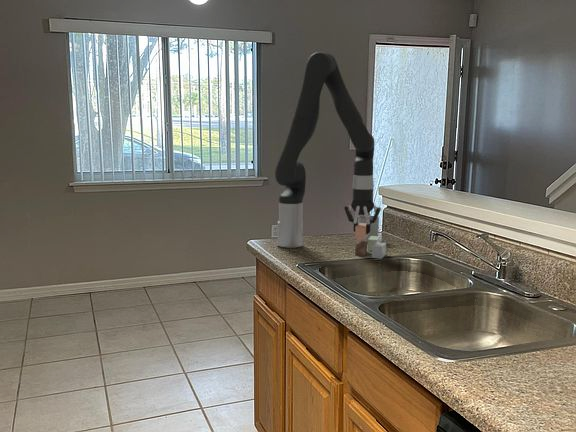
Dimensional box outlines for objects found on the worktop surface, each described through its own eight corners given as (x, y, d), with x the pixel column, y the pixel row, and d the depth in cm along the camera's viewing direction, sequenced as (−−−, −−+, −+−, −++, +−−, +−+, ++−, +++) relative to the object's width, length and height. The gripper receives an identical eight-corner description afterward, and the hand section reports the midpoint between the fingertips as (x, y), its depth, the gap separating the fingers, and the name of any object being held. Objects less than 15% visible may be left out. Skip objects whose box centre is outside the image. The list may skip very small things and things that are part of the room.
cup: (353, 239, 233) (354, 216, 231) (370, 238, 236) (371, 214, 234) (364, 243, 225) (365, 219, 223) (382, 242, 228) (382, 218, 227)
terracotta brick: (355, 238, 204) (355, 226, 204) (359, 234, 211) (359, 223, 210) (364, 239, 203) (364, 227, 202) (368, 235, 210) (368, 223, 209)
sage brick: (367, 250, 213) (367, 239, 212) (370, 247, 220) (371, 235, 219) (376, 251, 212) (377, 240, 211) (379, 247, 219) (379, 236, 218)
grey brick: (371, 258, 202) (372, 245, 201) (376, 254, 208) (376, 242, 207) (381, 258, 200) (381, 246, 200) (385, 254, 207) (386, 243, 206)
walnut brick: (355, 255, 206) (355, 243, 205) (357, 251, 212) (358, 239, 211) (364, 256, 205) (365, 244, 204) (367, 251, 211) (367, 240, 211)
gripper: (341, 187, 203) (341, 234, 206) (380, 189, 198) (379, 236, 201) (346, 185, 210) (345, 230, 213) (384, 187, 205) (382, 233, 208)
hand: (362, 233), depth 207 cm, fingers closed on terracotta brick, 3 cm apart
